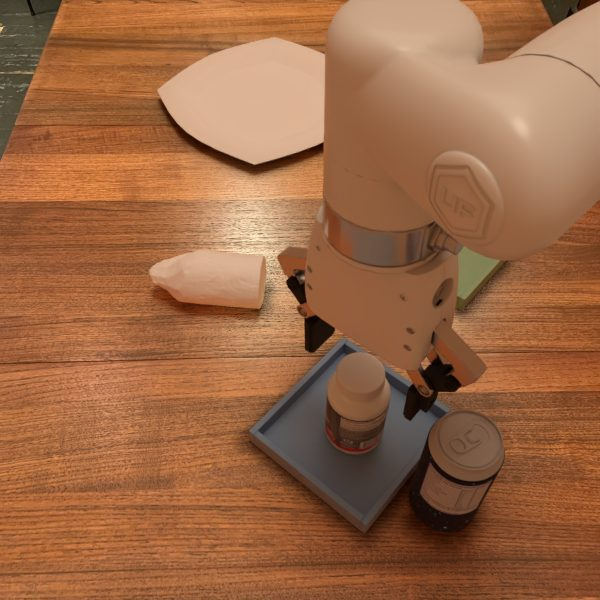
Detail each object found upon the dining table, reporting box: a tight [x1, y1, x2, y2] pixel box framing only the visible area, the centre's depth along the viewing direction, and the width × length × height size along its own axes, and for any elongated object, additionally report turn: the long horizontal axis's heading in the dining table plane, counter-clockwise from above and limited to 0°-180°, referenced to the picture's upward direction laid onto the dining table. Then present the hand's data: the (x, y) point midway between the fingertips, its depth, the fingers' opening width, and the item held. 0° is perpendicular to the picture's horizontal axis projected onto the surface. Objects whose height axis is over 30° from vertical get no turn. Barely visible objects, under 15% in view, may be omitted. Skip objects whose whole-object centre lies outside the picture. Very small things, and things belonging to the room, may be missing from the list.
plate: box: [156, 36, 325, 166], centre depth 93 cm, size 27×27×2 cm
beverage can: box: [408, 408, 506, 534], centre depth 52 cm, size 6×6×12 cm
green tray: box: [455, 246, 507, 312], centre depth 75 cm, size 12×12×2 cm
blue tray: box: [248, 336, 454, 535], centre depth 60 cm, size 13×14×2 cm
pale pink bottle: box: [148, 249, 267, 310], centre depth 69 cm, size 6×12×6 cm, turn 84°
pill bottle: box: [325, 352, 391, 455], centre depth 57 cm, size 5×5×10 cm
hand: (366, 372), depth 52 cm, fingers open, 9 cm apart
